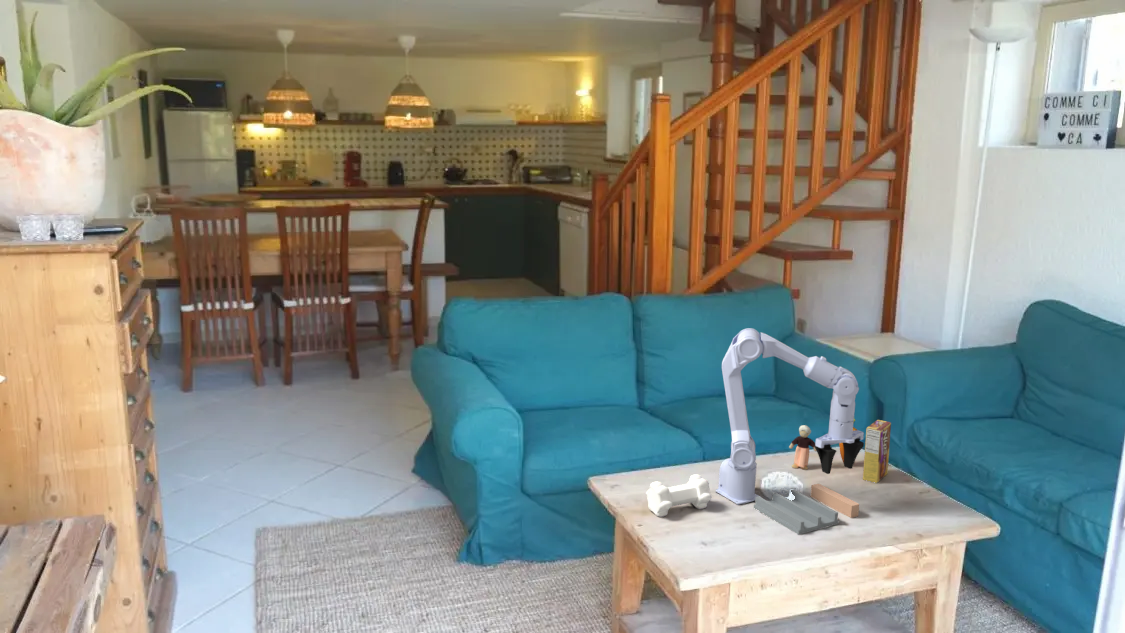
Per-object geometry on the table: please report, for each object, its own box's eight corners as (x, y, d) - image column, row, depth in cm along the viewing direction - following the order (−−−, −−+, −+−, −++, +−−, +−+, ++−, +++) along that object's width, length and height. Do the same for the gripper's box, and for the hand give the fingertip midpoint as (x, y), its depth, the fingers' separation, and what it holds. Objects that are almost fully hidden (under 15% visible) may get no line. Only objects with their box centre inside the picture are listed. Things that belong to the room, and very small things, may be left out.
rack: (753, 508, 216) (754, 497, 215) (792, 498, 222) (793, 488, 221) (798, 534, 202) (799, 522, 201) (838, 523, 208) (839, 512, 207)
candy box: (872, 470, 242) (877, 419, 239) (887, 474, 239) (893, 422, 236) (861, 479, 235) (866, 427, 232) (876, 483, 232) (882, 430, 229)
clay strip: (810, 497, 224) (811, 485, 223) (817, 495, 225) (818, 483, 224) (850, 519, 211) (851, 505, 211) (858, 517, 213) (859, 504, 212)
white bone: (660, 523, 208) (663, 493, 206) (642, 506, 216) (645, 477, 213) (711, 512, 214) (715, 483, 212) (692, 496, 222) (696, 468, 219)
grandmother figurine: (788, 469, 242) (791, 426, 239) (787, 464, 245) (790, 422, 243) (816, 471, 240) (820, 428, 238) (815, 466, 244) (818, 424, 241)
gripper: (832, 427, 206) (827, 480, 209) (874, 419, 213) (869, 470, 216) (811, 419, 212) (806, 470, 215) (853, 411, 219) (848, 461, 222)
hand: (837, 469), depth 216 cm, fingers open, 7 cm apart
